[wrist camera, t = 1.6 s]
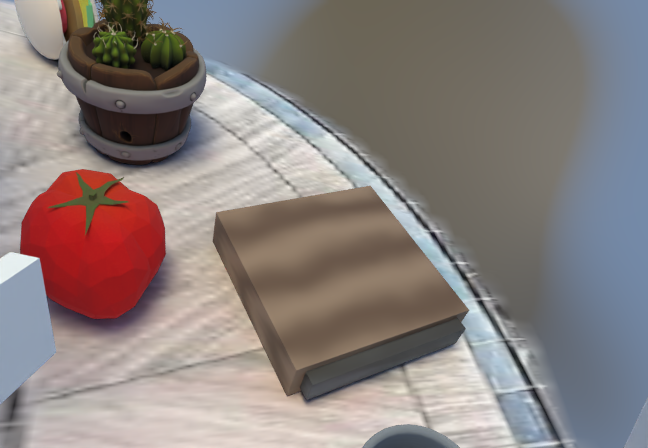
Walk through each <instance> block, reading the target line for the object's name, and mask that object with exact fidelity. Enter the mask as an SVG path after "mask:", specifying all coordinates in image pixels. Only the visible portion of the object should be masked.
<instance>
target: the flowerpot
mask: <svg viewBox="0 0 648 448" xmlns="http://www.w3.org/2000/svg"><path fill="white" fill-rule="evenodd" d="M95 1H96V0H95ZM148 1H149V0H100V1H99V2H101V4H103V7H104V8H103V10H102V13H104V14H102V13H101V12H100V11H99V13H100V14H101V17H100V19H101V18H102V17H103V18H104V17H105V18H106V19H102V20H101V21H99V22H97V23H95V24H94V25H93V27H92V28H91V27H83V28H80V29H78V30H76V31H74V32H73V33H72V34H71V37H70V38H69V40H68V41H67V42H66V43H65V44H64V46H63V47H62V49H61V51H60V55H59V61H58V68H59V71H58V72H57V75H58V77H60V78H61V79H62V81H63V83H64V85H65V86H66V88H67V89H68V90H69V91H70V92H71V93H73V94H74V95H75V96H76V98H77V100H78V103H79V105H80V107H81V111H80V114H79V124H80V126H81V129H80V133H81V134H83V135H85V137H86V139H87V141H88V142H89V143H90V144H91V145H92V146H94V147H95V148H96V149H97V150H98V151H99V152H100V153H101V154H108V156H109V157H110V158H111V159H112V160H115V161H118V162H121V163H127V164H136V165H143V164H148V163H150V162H151V161H152V162H160V161H162V160H164V159H165V158H167V157H168V155H170V154H172V153H174V152H176V151H177V150H179V149H180V148H181V147H182V146H183V145H184V143H185V141H186V139H187V136H188V134H189V131H190V127H191V118H190V115H189V114H190V111H191V108H192V106H193V103H194V102H195V101H196V100H197V99H198V98H199V97H200V95H201V94H202V92H203V90H204V87H205V83H206V66H205V62H204V59H203V57H202V56H201V55H200V54H199V52H198V51H196V50H195V49H194V48H193V45H192V43H191V42H190V40H189V39H188V38H187V37H186V36H184V35H183V34H181V33H179V32H173V29H172V28H171V27H170V25H169V27H170V28H168V27H166V25H167V24H168V23H167V24H166V25H165V26H164V23H163V24H162V23H161V24H162V25H159V24H151V23H150V24H146V21H147V18H148V17H149V16H151V15H152V14H151V12H152V13H153V12H154V11H150V12H149V9H151V8H152V7H151V8H149V9H148V8H147V3H148ZM151 1H152V0H151ZM96 3H97V2H96ZM94 4H95V3H94ZM98 10H100V9H98ZM148 12H149V13H148ZM155 13H156V12H155ZM100 14H99V15H100ZM152 17H153V16H152ZM161 20H162V19H161ZM162 22H163V21H162ZM171 29H172V30H171ZM176 29H178V28H176ZM174 30H175V29H174Z"/></svg>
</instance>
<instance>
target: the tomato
mask: <svg viewBox="0 0 648 448" xmlns="http://www.w3.org/2000/svg"><path fill="white" fill-rule="evenodd" d="M123 178H124V177H123ZM123 178H121V179H119V180H117V179H116V178H115V177H114V176H113V175H112V174H109V173H103V172H97V171H91V170H85V169H81V170H75V171H69V172H63V173H62V174H61V175H60V176H59V177H58V178H57V179H56V181H55V182H54V183H53V184H52V185H51V186H50V187H49V189H48V190H47V191H46V192H44V193H42V194H40V195H39V196H38V197H37V198H36V199H35V200H34V201H33V202H32V204H31V206H30V208H29V209H28V211H27V213H26V215H25V217H24V219H23V221H22V228H21V244H20V254H23V255H27V256H32V257H37V258H40V263H41V269H42V275H43V280H44V286H45V291H46V295H47V296H48V297H49V298H50V299H51V300H53V301H55V302H56V303H58V304H60V305H62V306H64V307H65V308H68V309H70V310H73V311H75V312H78V313H80V314H83V315H85V316H87V317H90V318H93V319H106V318H117V317H119V316H121V315H122V314H124V313H125V312H127V311H129V310H130V309H132V308H133V307H135V305H136V304H137V302H138V300H139V299H140V297H141V296H142V294H143V292H144V291H145V289H146V288H147V286H148V285H149V284H150V282H151V281H152V279H153V278H154V276H155V275H156V273H157V271H158V269H159V267H160V265H161V263H162V261H163V259H164V257H165V255H166V251H165V227H164V223H163V220H162V217H161V214H160V212H159V209H158V206H157V205H156V204H155V203H154V202H152V201H151V200H149V199H148V198H147V197H145V196H144V195H141V194H139V193H136V192H133V191H131V190H129V189H128V188H127V187H125V186H124V185H123V184H122V183H121V182H120V181H121V180H122V179H123Z"/></svg>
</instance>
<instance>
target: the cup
mask: <svg viewBox="0 0 648 448" xmlns="http://www.w3.org/2000/svg"><path fill="white" fill-rule="evenodd" d="M363 448H460V447H459V446H458V445H456V444H455V443H454V442H452V441H451V440H450V439H448V438H447V437H446V436H444V435H442V434H440V433H438V432H436V431H434V430H432V429H429V428H426V427H422V426H417V425H409V424H407V425H396V426H392V427H389V428H386V429H383V430H382V431H380V432H378V433H376V434H375V435H374V436H372V437H371V438H370V439H369V440H368V441H367V442H366V443H365V445H364V446H363Z"/></svg>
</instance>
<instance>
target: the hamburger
mask: <svg viewBox="0 0 648 448" xmlns="http://www.w3.org/2000/svg"><path fill="white" fill-rule="evenodd" d="M94 3H95V2H94V0H15V6H16V11H17V15H18V18H19V21H20V23H21V26H22V28H23V30H24V33H25V34H26V36H27V38H28V40H29V41H30V43H31V44H32V45H33V47H34V48H35V49H36V50H37V51H38V52H39V53H40V54H42V55H43V56H45V57H46V58H49V59H54V60H56V59H58V58H59V55H60V51H61V49H62V47H63V46H64V44H65V43H66V42H67V41H68V40H69V38H70V37H71V34H72V33H73V32H74V31H76V30H78V29H80V28H83V27H91V28H92V27H93V25H94V24H95V23H97V22H99V20H98V14H97V10H96V6H95V4H94Z"/></svg>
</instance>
